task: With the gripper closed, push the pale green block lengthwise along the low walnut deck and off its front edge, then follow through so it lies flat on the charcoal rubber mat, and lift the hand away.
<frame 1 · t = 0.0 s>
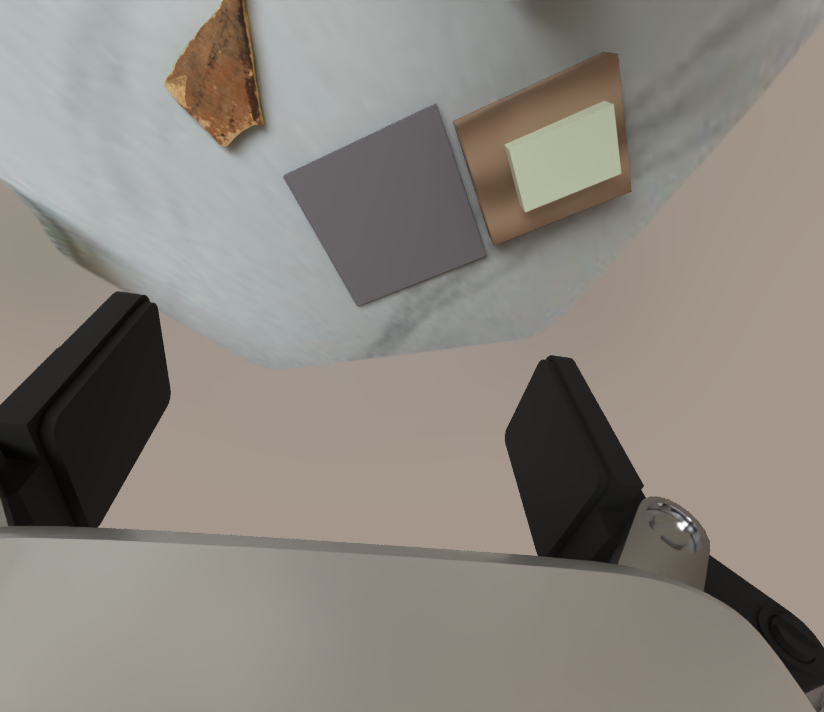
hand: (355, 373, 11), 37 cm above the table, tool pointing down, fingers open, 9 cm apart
pale green block: (562, 159, 40), point 4 cm above the table, touching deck
shard: (213, 67, 38), on the table
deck: (539, 153, 43), on the table
mat: (391, 216, 46), on the table
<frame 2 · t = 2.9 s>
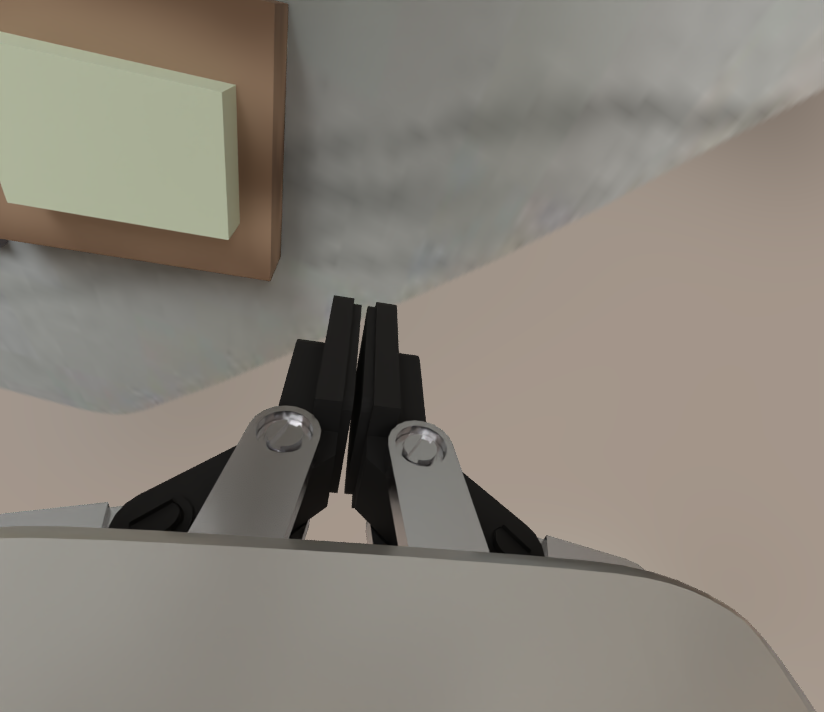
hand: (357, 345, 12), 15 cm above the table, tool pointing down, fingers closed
pale green block: (119, 144, 18), point 4 cm above the table, touching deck
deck: (136, 119, 21), on the table
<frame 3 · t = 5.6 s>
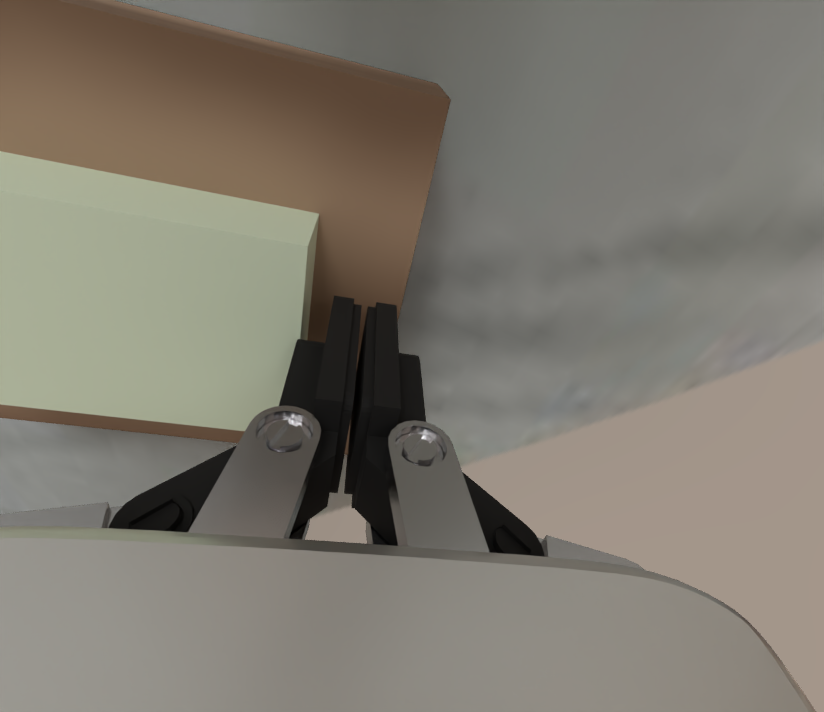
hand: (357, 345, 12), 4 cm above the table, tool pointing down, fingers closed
pale green block: (124, 307, 11), point 4 cm above the table, touching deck, gripper
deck: (183, 241, 14), on the table
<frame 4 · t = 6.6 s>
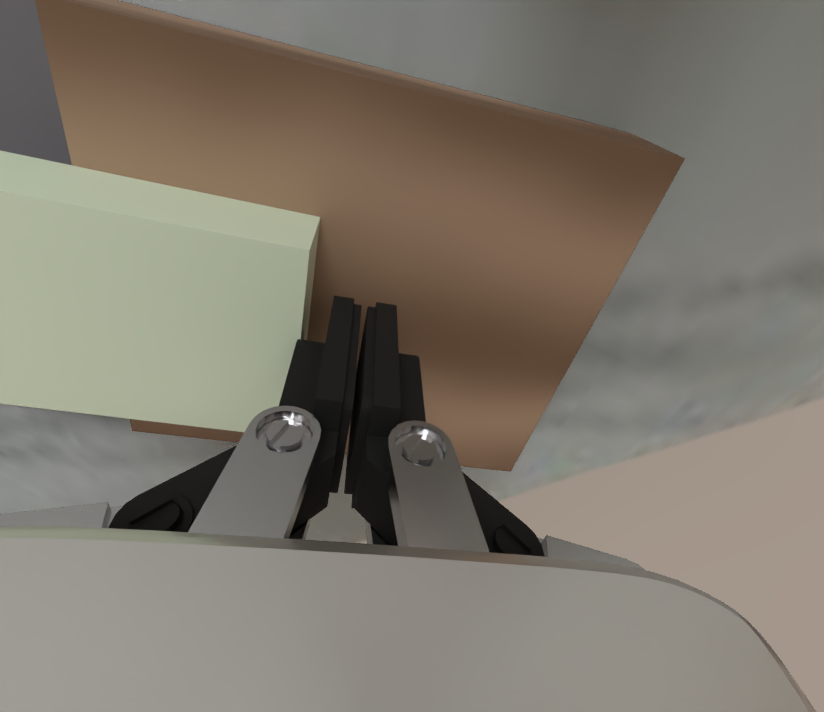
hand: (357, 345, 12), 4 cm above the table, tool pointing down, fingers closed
pale green block: (124, 307, 11), point 4 cm above the table, touching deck, gripper
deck: (363, 272, 15), on the table
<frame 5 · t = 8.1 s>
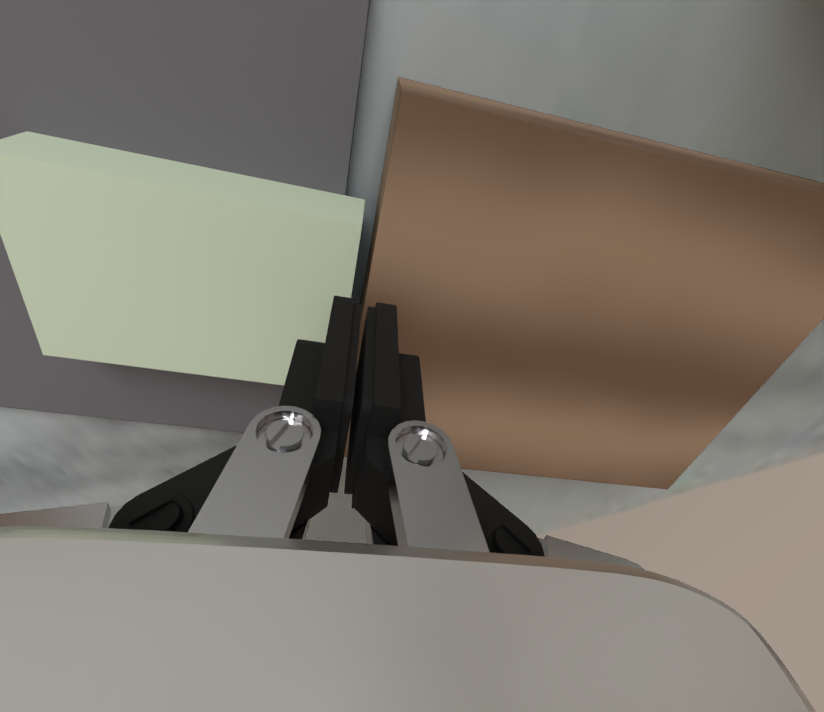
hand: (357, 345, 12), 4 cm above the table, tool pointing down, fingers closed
pale green block: (201, 278, 13), point 2 cm above the table, touching mat
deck: (550, 307, 16), on the table
mat: (80, 227, 14), on the table
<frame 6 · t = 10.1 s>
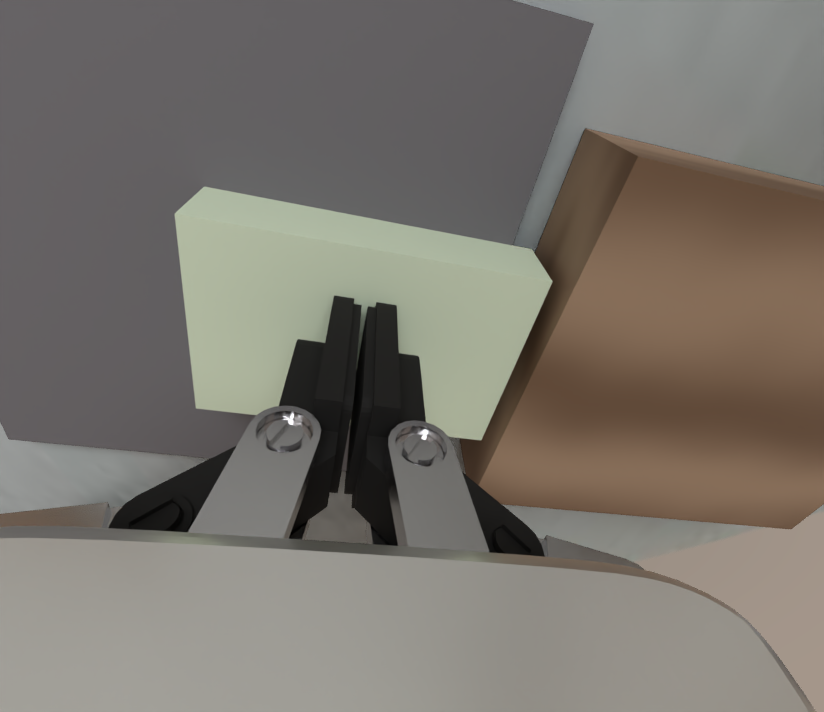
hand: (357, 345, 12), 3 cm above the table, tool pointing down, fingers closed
pale green block: (360, 330, 13), point 2 cm above the table, touching gripper, mat
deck: (687, 349, 16), on the table
mat: (230, 276, 13), on the table
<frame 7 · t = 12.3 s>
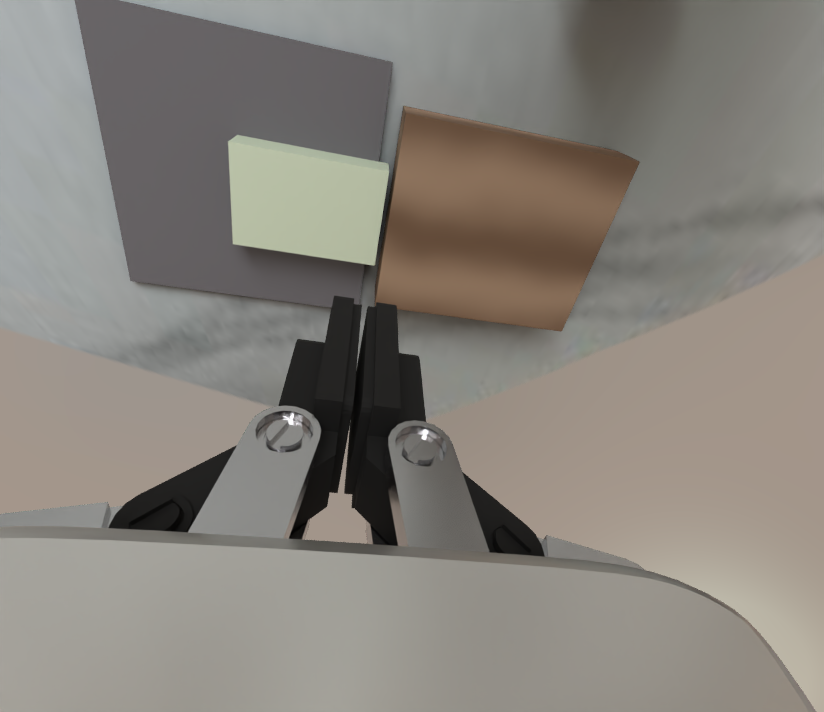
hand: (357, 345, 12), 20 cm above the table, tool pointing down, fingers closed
pale green block: (310, 204, 27), point 2 cm above the table, touching mat
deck: (487, 223, 31), on the table
mat: (248, 182, 28), on the table
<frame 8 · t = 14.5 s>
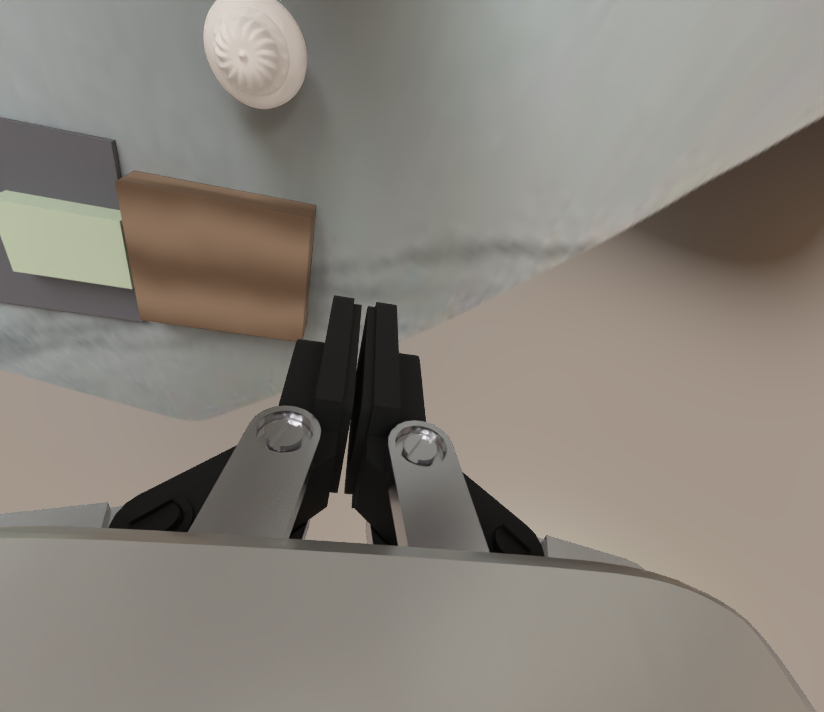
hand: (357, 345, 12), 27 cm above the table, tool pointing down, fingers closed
white swirled ornament: (269, 49, 30), on the table
pale green block: (71, 242, 36), point 2 cm above the table, touching mat
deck: (230, 256, 39), on the table
mat: (27, 223, 36), on the table
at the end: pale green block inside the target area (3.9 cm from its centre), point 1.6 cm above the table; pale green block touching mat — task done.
